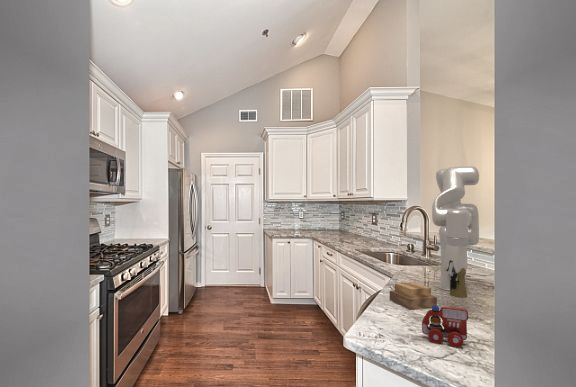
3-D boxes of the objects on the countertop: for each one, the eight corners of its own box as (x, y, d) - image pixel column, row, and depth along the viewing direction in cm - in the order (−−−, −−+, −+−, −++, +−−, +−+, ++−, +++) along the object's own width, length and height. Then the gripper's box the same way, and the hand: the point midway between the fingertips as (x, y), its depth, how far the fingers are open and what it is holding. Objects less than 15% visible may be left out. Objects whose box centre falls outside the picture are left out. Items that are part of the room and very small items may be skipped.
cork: (465, 294, 121) (465, 265, 121) (469, 298, 115) (468, 269, 115) (448, 292, 123) (448, 264, 123) (450, 297, 117) (450, 267, 117)
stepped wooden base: (414, 298, 137) (414, 281, 137) (436, 307, 124) (436, 288, 125) (389, 300, 133) (389, 282, 133) (409, 310, 121) (409, 290, 121)
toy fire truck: (422, 333, 99) (422, 299, 99) (467, 341, 93) (467, 305, 94) (421, 341, 93) (421, 305, 93) (469, 350, 87) (469, 312, 87)
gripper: (455, 239, 128) (455, 284, 127) (437, 242, 117) (437, 291, 117) (475, 241, 122) (475, 288, 121) (458, 244, 111) (458, 296, 111)
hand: (456, 289), depth 119 cm, fingers closed on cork, 2 cm apart
